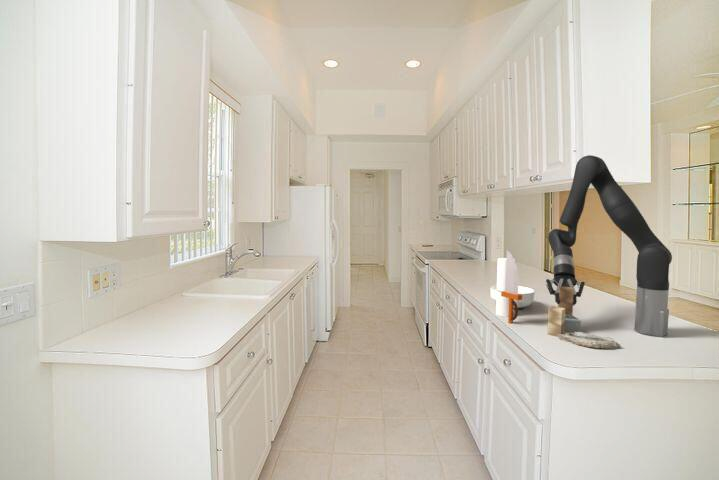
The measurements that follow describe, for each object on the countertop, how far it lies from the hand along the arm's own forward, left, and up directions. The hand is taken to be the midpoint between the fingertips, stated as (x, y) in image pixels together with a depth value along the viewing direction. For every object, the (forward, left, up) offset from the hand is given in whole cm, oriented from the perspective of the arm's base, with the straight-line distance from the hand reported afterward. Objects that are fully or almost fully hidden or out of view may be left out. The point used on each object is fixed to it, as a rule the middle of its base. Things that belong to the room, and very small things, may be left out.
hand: (566, 303), depth 136 cm
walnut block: (+1, -2, -4) cm, 5 cm away
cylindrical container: (+26, -1, -11) cm, 28 cm away
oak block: (0, +7, -11) cm, 13 cm away
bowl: (+32, -16, -11) cm, 38 cm away
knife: (+18, +8, -11) cm, 22 cm away
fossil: (-10, +7, -11) cm, 17 cm away
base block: (+1, -2, -11) cm, 11 cm away
